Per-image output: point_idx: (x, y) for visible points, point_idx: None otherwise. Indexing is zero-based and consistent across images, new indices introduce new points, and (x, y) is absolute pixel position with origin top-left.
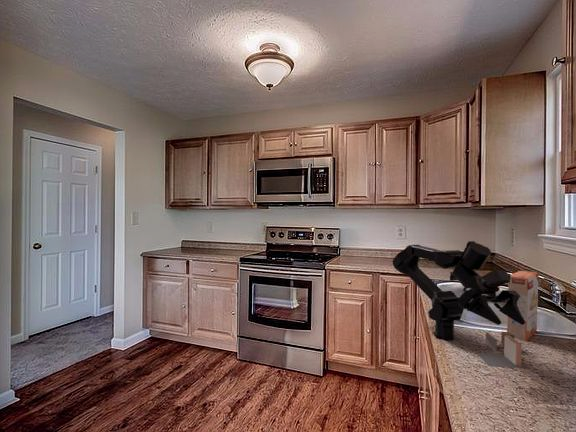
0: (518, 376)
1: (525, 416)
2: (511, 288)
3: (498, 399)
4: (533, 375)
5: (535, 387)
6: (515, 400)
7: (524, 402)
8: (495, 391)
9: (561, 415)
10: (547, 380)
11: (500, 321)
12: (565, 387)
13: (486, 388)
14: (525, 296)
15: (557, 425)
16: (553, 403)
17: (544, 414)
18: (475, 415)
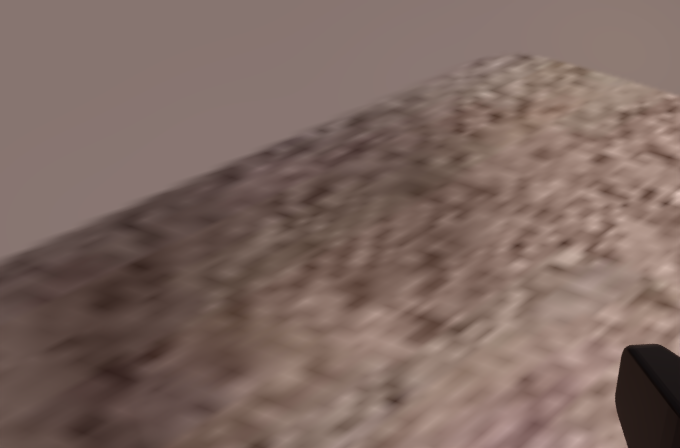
0: (289, 434)
1: (645, 147)
2: None
3: (675, 285)
4: (163, 403)
5: (327, 291)
6: (582, 245)
7: (548, 216)
8: None
9: (465, 97)
10: (150, 319)
11: (651, 350)
12: (145, 227)
13: None
14: None
15: (555, 69)
16: (400, 160)
17: (538, 126)
18: None
